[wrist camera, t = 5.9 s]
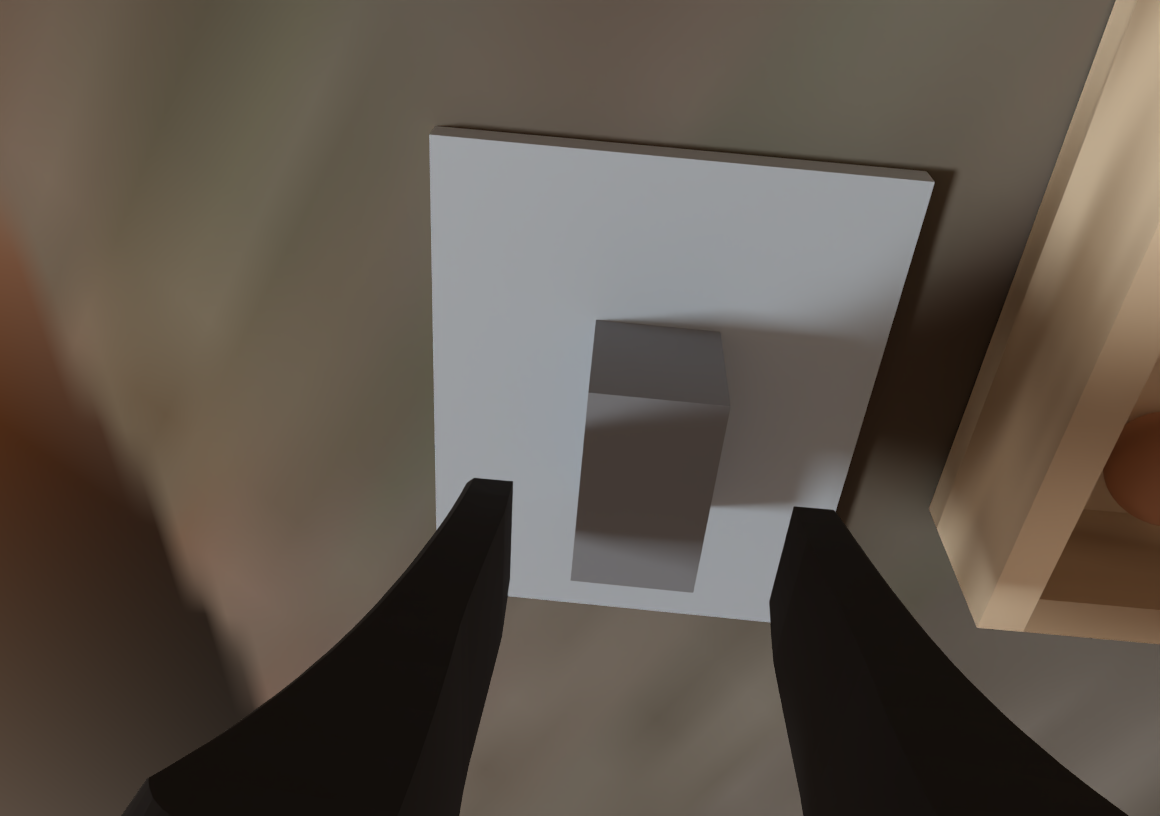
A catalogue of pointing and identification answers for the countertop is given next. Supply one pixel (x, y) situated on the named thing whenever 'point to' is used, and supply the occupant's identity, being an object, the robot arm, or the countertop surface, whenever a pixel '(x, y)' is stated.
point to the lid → (656, 353)
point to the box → (1074, 382)
